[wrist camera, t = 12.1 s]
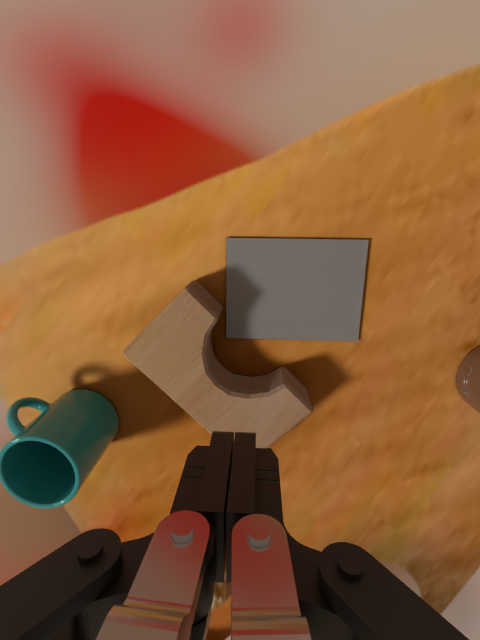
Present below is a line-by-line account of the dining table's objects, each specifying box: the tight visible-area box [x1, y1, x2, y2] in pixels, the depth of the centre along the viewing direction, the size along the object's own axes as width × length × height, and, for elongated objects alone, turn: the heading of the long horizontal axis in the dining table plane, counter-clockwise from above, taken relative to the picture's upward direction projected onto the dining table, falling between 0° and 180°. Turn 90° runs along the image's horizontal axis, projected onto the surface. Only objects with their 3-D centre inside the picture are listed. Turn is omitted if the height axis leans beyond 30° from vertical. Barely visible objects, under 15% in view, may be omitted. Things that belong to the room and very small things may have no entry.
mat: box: [226, 238, 369, 341], centre depth 42 cm, size 16×12×1 cm
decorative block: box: [123, 281, 313, 448], centre depth 42 cm, size 11×6×20 cm
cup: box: [0, 389, 118, 508], centre depth 42 cm, size 9×12×11 cm
